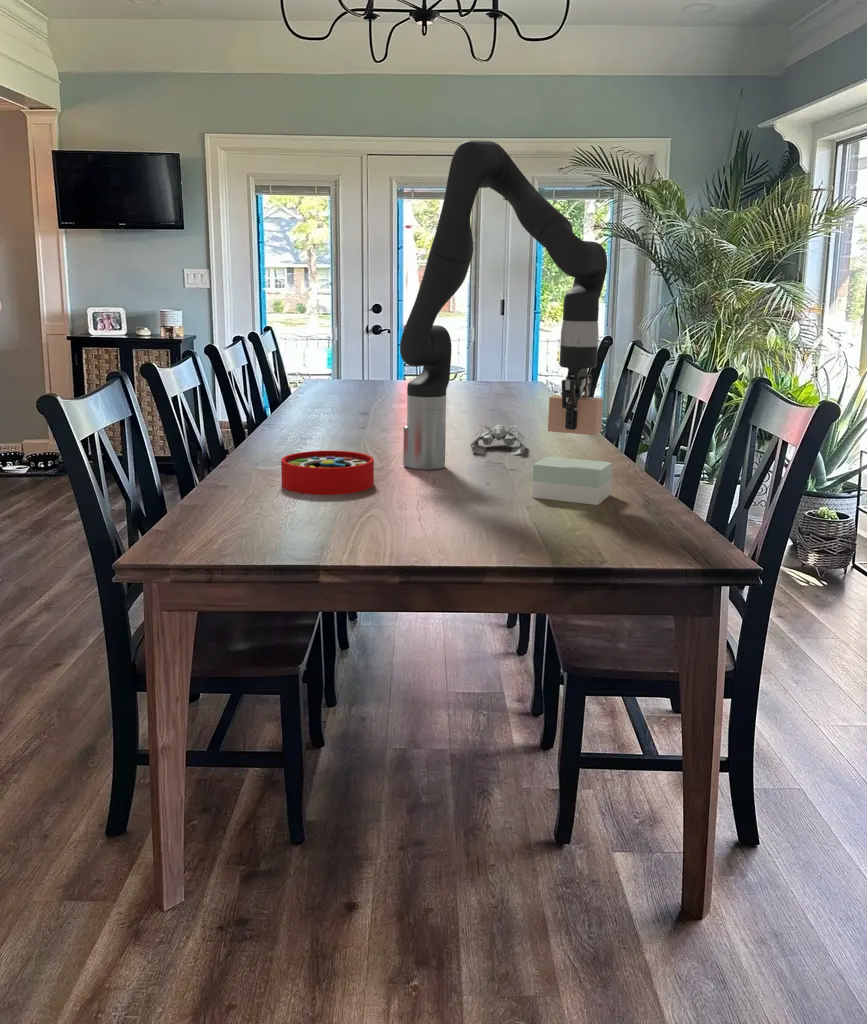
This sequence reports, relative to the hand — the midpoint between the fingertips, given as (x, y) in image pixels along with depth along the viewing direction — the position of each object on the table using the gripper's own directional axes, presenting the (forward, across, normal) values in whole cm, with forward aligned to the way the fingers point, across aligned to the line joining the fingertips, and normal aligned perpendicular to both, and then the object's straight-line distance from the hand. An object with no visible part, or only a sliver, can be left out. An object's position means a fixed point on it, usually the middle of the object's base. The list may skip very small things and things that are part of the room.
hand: (574, 426), depth 192 cm
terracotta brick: (+1, 0, 0) cm, 1 cm away
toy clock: (+15, -14, +51) cm, 55 cm away
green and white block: (+15, 0, 0) cm, 15 cm away
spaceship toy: (+15, +43, +33) cm, 56 cm away
